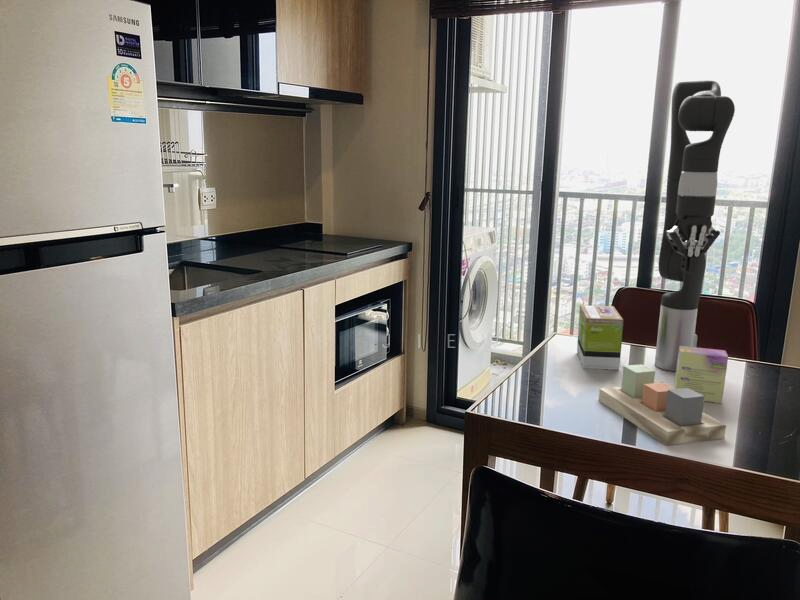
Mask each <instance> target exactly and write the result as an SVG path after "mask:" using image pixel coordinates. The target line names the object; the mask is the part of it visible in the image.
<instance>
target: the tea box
mask: <svg viewBox="0 0 800 600" xmlns="http://www.w3.org/2000/svg"><path fill="white" fill-rule="evenodd" d="M578 311H579V313H578V315H579V316H578V329H577V330H578V333H577V346H576V347H577V348H576V352H577V356H578V357H579V361H580V363H581V366H582V368H583V369H584V368H589V369H588V370H601V369H608V370H607V371H619V370H620V368H621V357H622V356H621V354H622V344H623V343H622V340H623V331H624V330H623V329H624V319H623V317H622V316H621V315H620V313H619V312H618V310H617V309H616V308H615V306H614V305H611V306H610V305H583V304H582V305H581V304H580V305H579V310H578Z"/></svg>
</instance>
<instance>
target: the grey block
mask: <svg viewBox="0 0 800 600" xmlns="http://www.w3.org/2000/svg"><path fill="white" fill-rule="evenodd" d="M704 402H705V401H704V396H703V395H701V394H699V393H697V392H695V391H693V390H691V389H689V388H680V389H670V390H668V393H667V402H666V411H665V418H666V419H668V420H670V421H671V422H673V423H675V424H676V425H678V426H680V427H683V426H692V425H700V424H701V419H702V412H703V409H704Z"/></svg>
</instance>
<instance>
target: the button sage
mask: <svg viewBox="0 0 800 600" xmlns="http://www.w3.org/2000/svg"><path fill="white" fill-rule="evenodd" d="M622 367H623V368H622V376H621V386H620V387H621V391H622V392H623V393H625V394H627V395H628V396H630V397H631V398H633V399H634V398H642V396H643V387H644V384H650V383H655V379H656V378H655V377H656V370H654V369H652V368H650V367H648V366H646V365H644V364H641V363H640V364H630V365H623V366H622Z"/></svg>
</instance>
